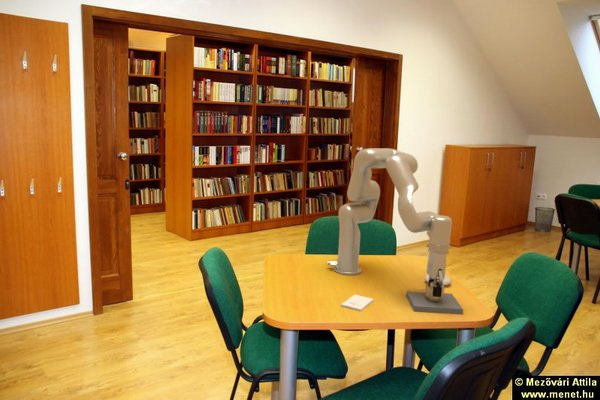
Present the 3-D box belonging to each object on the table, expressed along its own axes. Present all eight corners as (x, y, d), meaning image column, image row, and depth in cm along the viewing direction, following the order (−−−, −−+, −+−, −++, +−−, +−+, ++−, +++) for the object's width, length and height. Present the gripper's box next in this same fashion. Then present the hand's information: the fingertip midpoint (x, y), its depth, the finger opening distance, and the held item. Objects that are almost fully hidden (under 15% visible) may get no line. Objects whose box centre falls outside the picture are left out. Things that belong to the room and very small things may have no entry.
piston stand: (413, 311, 182) (415, 289, 180) (406, 295, 197) (408, 275, 196) (462, 314, 181) (465, 292, 180) (451, 298, 197) (453, 278, 195)
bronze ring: (427, 298, 185) (428, 288, 185) (423, 292, 192) (424, 282, 191) (445, 299, 185) (446, 289, 184) (440, 293, 192) (441, 283, 191)
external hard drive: (373, 302, 190) (360, 313, 179) (354, 298, 194) (340, 307, 183) (373, 298, 189) (360, 309, 179) (354, 294, 193) (340, 303, 183)
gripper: (423, 241, 194) (419, 284, 197) (434, 254, 177) (429, 300, 180) (443, 242, 194) (438, 285, 197) (455, 255, 177) (450, 302, 180)
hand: (434, 292), depth 188 cm, fingers closed on bronze ring, 6 cm apart
